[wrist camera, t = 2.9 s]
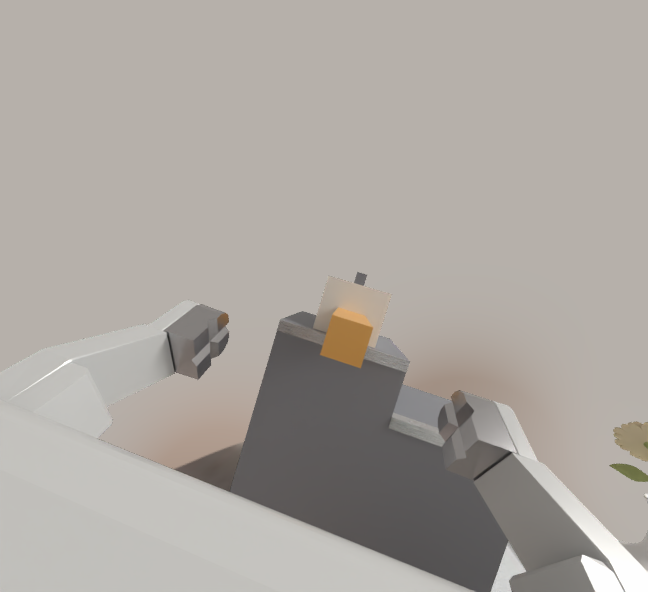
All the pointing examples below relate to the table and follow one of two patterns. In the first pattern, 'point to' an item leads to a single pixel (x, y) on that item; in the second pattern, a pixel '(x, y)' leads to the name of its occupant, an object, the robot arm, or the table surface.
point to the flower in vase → (634, 474)
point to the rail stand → (364, 459)
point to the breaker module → (350, 318)
